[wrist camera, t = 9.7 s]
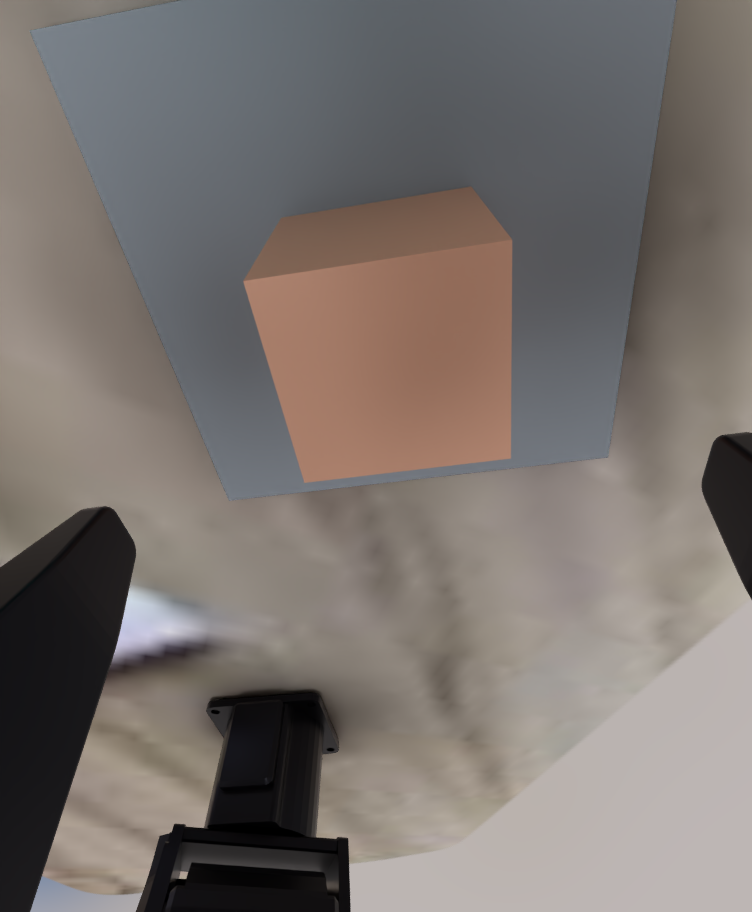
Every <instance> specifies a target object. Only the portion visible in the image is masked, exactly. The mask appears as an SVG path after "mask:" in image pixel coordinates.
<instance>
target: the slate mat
mask: <svg viewBox="0 0 752 912" xmlns="http://www.w3.org/2000/svg"><path fill="white" fill-rule="evenodd" d="M676 3H677V0H179V1H174V2H169V3H164V4H159V5H154V6H149V7H144V8H139V9H134V10H129V11H124V12H119V13H114V14H109V15H104V16H99V17H94V18H90V19H85V20H80V21H75V22H70V23H65V24H60V25H55V26H50V27H45V28H40V29H35V30H30V33H31V35H32V38H33V40H34V42H35V45H36V47H37V49H38V52H39V54H40V56H41V59H42V61H43V64H44V66H45V68H46V71H47V73H48V75H49V78H50V80H51V82H52V85H53V87H54V89H55V92H56V94H57V97H58V99H59V101H60V104H61V106H62V108H63V111H64V113H65V115H66V118H67V120H68V122H69V125H70V127H71V130H72V132H73V134H74V137H75V139H76V141H77V144H78V146H79V148H80V151H81V153H82V155H83V158H84V160H85V163H86V165H87V167H88V170H89V172H90V174H91V177H92V179H93V181H94V184H95V186H96V188H97V191H98V193H99V195H100V198H101V200H102V203H103V205H104V207H105V210H106V212H107V214H108V217H109V219H110V221H111V224H112V226H113V228H114V231H115V233H116V236H117V238H118V240H119V243H120V245H121V247H122V250H123V252H124V254H125V257H126V259H127V261H128V264H129V266H130V269H131V271H132V273H133V276H134V278H135V280H136V283H137V285H138V287H139V290H140V292H141V294H142V297H143V299H144V302H145V304H146V306H147V309H148V311H149V313H150V316H151V318H152V320H153V323H154V325H155V327H156V330H157V332H158V335H159V337H160V339H161V342H162V344H163V346H164V349H165V351H166V353H167V356H168V358H169V360H170V363H171V365H172V368H173V370H174V372H175V375H176V377H177V379H178V382H179V384H180V386H181V389H182V391H183V393H184V396H185V398H186V401H187V403H188V405H189V408H190V410H191V412H192V415H193V417H194V419H195V422H196V424H197V426H198V429H199V431H200V433H201V436H202V438H203V441H204V443H205V445H206V448H207V450H208V452H209V455H210V457H211V459H212V462H213V464H214V466H215V469H216V471H217V474H218V476H219V478H220V481H221V483H222V485H223V488H224V490H225V492H226V495H227V497H228V499H229V501H231V500H239V499H248V498H257V497H266V496H274V495H283V494H292V493H301V492H309V491H318V490H327V489H336V488H344V487H353V486H362V485H371V484H379V483H388V482H397V481H406V480H415V479H423V478H432V477H441V476H450V475H458V474H467V473H476V472H485V471H493V470H502V469H511V468H520V467H528V466H537V465H546V464H555V463H563V462H572V461H581V460H590V459H598V458H607V457H608V454H609V447H610V441H611V434H612V427H613V421H614V414H615V407H616V401H617V394H618V388H619V381H620V374H621V368H622V361H623V354H624V348H625V341H626V334H627V328H628V321H629V315H630V308H631V301H632V295H633V288H634V281H635V275H636V268H637V261H638V255H639V248H640V242H641V235H642V228H643V222H644V215H645V208H646V202H647V195H648V188H649V182H650V175H651V169H652V162H653V155H654V149H655V142H656V135H657V129H658V122H659V115H660V109H661V102H662V96H663V89H664V82H665V76H666V69H667V62H668V56H669V49H670V42H671V36H672V29H673V23H674V16H675V9H676ZM465 187H472V188H473V189H474V191H475V192H476V193H477V195H478V196H479V197H480V199H481V200H482V201H483V202H484V204H485V205H486V206H487V208H488V209H489V210H490V211H491V213H492V214H493V215H494V217H495V218H496V219H497V221H498V222H499V223H500V224H501V226H502V227H503V228H504V230H505V231H506V232H507V233H508V235H509V236H510V237H511V239H512V359H511V459H503V460H494V461H486V462H477V463H469V464H460V465H452V466H443V467H435V468H426V469H418V470H410V471H401V472H393V473H384V474H376V475H367V476H359V477H350V478H342V479H333V480H325V481H316V482H308V483H304V480H303V477H302V473H301V470H300V467H299V463H298V460H297V457H296V454H295V450H294V447H293V444H292V440H291V437H290V434H289V430H288V427H287V424H286V421H285V417H284V414H283V411H282V407H281V404H280V401H279V398H278V394H277V391H276V388H275V384H274V381H273V378H272V374H271V371H270V368H269V365H268V361H267V358H266V355H265V351H264V348H263V345H262V342H261V338H260V335H259V332H258V328H257V325H256V322H255V318H254V315H253V312H252V309H251V305H250V302H249V299H248V295H247V292H246V289H245V286H244V282H243V281H244V279H245V277H246V276H247V274H248V272H249V271H250V269H251V267H252V266H253V264H254V262H255V261H256V259H257V257H258V256H259V254H260V252H261V251H262V249H263V247H264V246H265V244H266V242H267V241H268V239H269V237H270V236H271V234H272V232H273V231H274V229H275V227H276V226H277V224H278V222H279V221H280V219H281V218H283V217H289V216H295V215H301V214H307V213H313V212H319V211H325V210H331V209H338V208H344V207H350V206H356V205H362V204H368V203H374V202H380V201H386V200H392V199H398V198H404V197H410V196H417V195H423V194H429V193H435V192H441V191H447V190H453V189H459V188H465Z"/></svg>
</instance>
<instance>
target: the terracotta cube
mask: <svg viewBox="0 0 752 912" xmlns="http://www.w3.org/2000/svg"><path fill="white" fill-rule="evenodd" d="M243 282H244V286H245V289H246V292H247V295H248V299H249V302H250V305H251V309H252V312H253V315H254V318H255V322H256V325H257V328H258V332H259V335H260V338H261V342H262V345H263V348H264V351H265V355H266V358H267V361H268V365H269V368H270V371H271V374H272V378H273V381H274V384H275V388H276V391H277V394H278V398H279V401H280V404H281V407H282V411H283V414H284V417H285V421H286V424H287V427H288V430H289V434H290V437H291V440H292V444H293V447H294V450H295V454H296V457H297V460H298V463H299V467H300V470H301V473H302V477H303V480H304V483H308V482H316V481H325V480H333V479H342V478H350V477H359V476H367V475H376V474H384V473H393V472H401V471H410V470H418V469H426V468H435V467H443V466H452V465H460V464H469V463H477V462H486V461H494V460H503V459H511V359H512V239H511V237H510V236H509V235H508V233H507V232H506V231H505V230H504V228H503V227H502V226H501V224H500V223H499V222H498V221H497V219H496V218H495V217H494V215H493V214H492V213H491V211H490V210H489V209H488V208H487V206H486V205H485V204H484V202H483V201H482V200H481V199H480V197H479V196H478V195H477V193H476V192H475V191H474V189H473V188H472V187H465V188H459V189H453V190H447V191H441V192H435V193H429V194H423V195H417V196H410V197H404V198H398V199H392V200H386V201H380V202H374V203H368V204H362V205H356V206H350V207H344V208H338V209H331V210H325V211H319V212H313V213H307V214H301V215H295V216H289V217H283V218H281V219H280V221H279V222H278V224H277V226H276V227H275V229H274V231H273V232H272V234H271V236H270V237H269V239H268V241H267V242H266V244H265V246H264V247H263V249H262V251H261V252H260V254H259V256H258V257H257V259H256V261H255V262H254V264H253V266H252V267H251V269H250V271H249V272H248V274H247V276H246V277H245V279H244V281H243Z"/></svg>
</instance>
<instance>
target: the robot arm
mask: <svg viewBox="0 0 752 912" xmlns="http://www.w3.org/2000/svg"><path fill="white" fill-rule="evenodd" d="M702 492H703V495H704V498H705V500H706V503H707V505H708V507H709V509H710V512H711V514H712V516H713V518H714V521H715V523H716V525H717V527H718V530H719V532H720V534H721V536H722V539H723V541H724V543H725V545H726V547H727V550H728V552H729V554H730V556H731V559H732V561H733V563H734V565H735V568H736V570H737V572H738V574H739V576H740V578H741V580H742V582H743V584H744V586H745V588H746V590H747V592H748V594H749V596H750V597H751V599H752V433H749V432H744V433H735V434H727V435H721V436H719V437H718V438H716V440H715V441H714V442H713V445H712V448H711V451H710V454H709V458H708V461H707V464H706V468H705V471H704V475H703V478H702ZM135 558H136V548H135V544H134V541H133V539H132V538H131V536H130V534H129V533H128V531H127V529H126V528H125V526H124V525H123V523H122V521H121V520H120V518H119V516H118V515H117V513H116V512H115V511H114V510H113V509H112V508H110V507H106V506H103V507H94V508H86V509H83V510H80V511H79V512H77V513H76V514H75V515H73V516H72V517H70V518H69V519H68V520H66V521H65V522H63V523H62V524H61V525H59V526H58V527H56V528H55V529H54V530H52V531H51V532H49V533H48V534H47V535H45V536H44V537H42V538H41V539H40V540H38V541H37V542H35V543H34V544H33V545H31V546H30V547H28V548H27V549H26V550H24V551H23V552H21V553H20V554H19V555H17V556H16V557H14V558H13V559H12V560H10V561H9V562H7V563H6V564H5V565H3V566H2V567H0V912H30V910H31V907H32V904H33V901H34V898H35V895H36V892H37V889H38V886H39V883H40V880H41V877H42V874H43V870H44V867H45V864H46V861H47V858H48V855H49V852H50V849H51V846H52V843H53V840H54V837H55V834H56V831H57V828H58V824H59V821H60V818H61V815H62V812H63V809H64V806H65V803H66V800H67V797H68V794H69V791H70V788H71V785H72V782H73V778H74V775H75V772H76V769H77V766H78V763H79V760H80V757H81V754H82V751H83V748H84V745H85V742H86V739H87V736H88V732H89V729H90V726H91V723H92V720H93V717H94V714H95V711H96V708H97V705H98V702H99V699H100V696H101V693H102V690H103V686H104V683H105V680H106V677H107V674H108V671H109V668H110V665H111V662H112V659H113V655H114V652H115V649H116V645H117V641H118V637H119V633H120V629H121V624H122V619H123V615H124V610H125V605H126V601H127V596H128V591H129V586H130V582H131V577H132V572H133V568H134V563H135ZM206 712H207V714H208V715H209V717H210V718H211V720H212V721H213V722H214V724H215V725H216V727H217V728H218V730H219V731H220V733H221V734H222V736H223V737H224V741H223V745H222V750H221V754H220V759H219V763H218V768H217V772H216V777H215V781H214V786H213V790H212V795H211V799H210V804H209V808H208V813H207V817H206V822H205V826H204V828H194V827H186V825H185V824H174V827H173V830H172V833H171V832H170V833H169V834H165V835H162V836H160V837H159V840H158V844H157V848H156V851H155V855H154V859H153V862H152V866H151V869H150V872H149V876H148V879H147V882H146V885H145V888H144V890H143V893H142V896H141V899H140V902H139V905H138V907H137V910H136V912H350V883H349V882H350V881H349V849H348V838H342V837H337V839H329V838H316V831H317V818H318V805H319V791H320V778H321V765H322V754H329V753H336V752H338V751H339V741H338V739H337V736H336V734H335V732H334V729H333V727H332V724H331V722H330V719H329V717H328V714H327V712H326V709H325V707H324V704H323V702H322V700H321V697H320V696H319V695H318V694H316V693H302V694H289V695H277V696H264V697H252V698H239V699H227V700H214V701H210V702H209V703H208V706H207V710H206ZM180 871H185V872H188V875H187V879H179V876H180Z"/></svg>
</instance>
